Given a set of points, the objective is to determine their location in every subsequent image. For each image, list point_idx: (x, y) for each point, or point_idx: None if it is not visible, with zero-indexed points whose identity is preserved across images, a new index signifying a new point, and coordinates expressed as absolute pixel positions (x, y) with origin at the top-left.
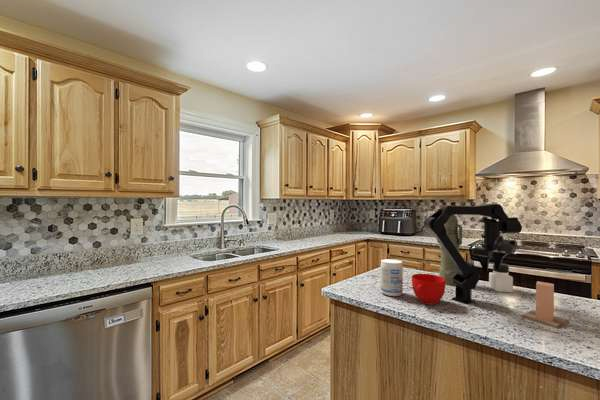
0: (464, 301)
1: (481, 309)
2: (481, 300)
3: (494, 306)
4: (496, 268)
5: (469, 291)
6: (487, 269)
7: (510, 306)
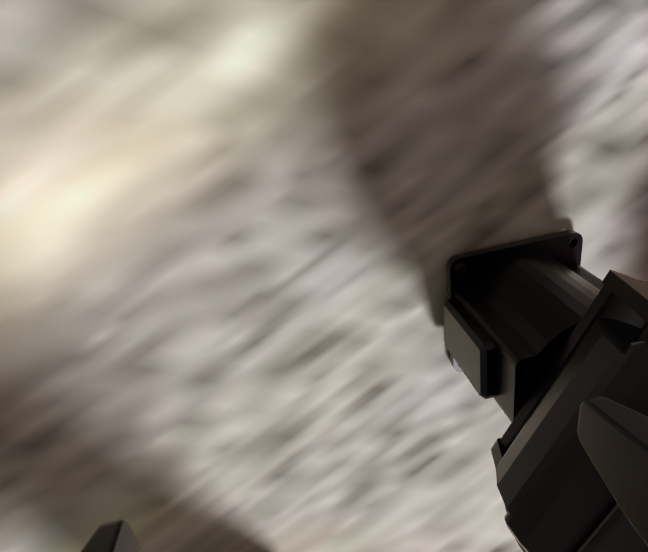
0: (562, 263)
1: (584, 102)
2: (365, 265)
3: (405, 116)
4: (140, 548)
5: (587, 294)
6: (642, 423)
7: (248, 57)
